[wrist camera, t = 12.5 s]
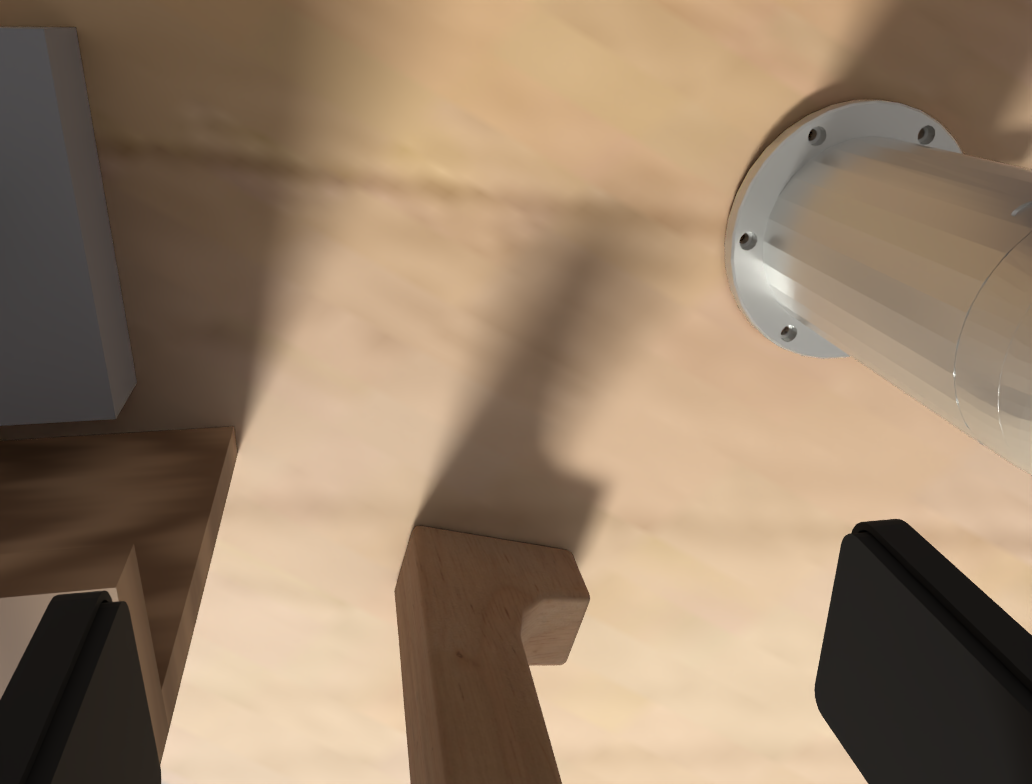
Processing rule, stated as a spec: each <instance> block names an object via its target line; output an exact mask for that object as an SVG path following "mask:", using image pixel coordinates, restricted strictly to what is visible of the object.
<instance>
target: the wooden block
mask: <svg viewBox="0 0 1032 784" xmlns="http://www.w3.org/2000/svg"><path fill="white" fill-rule="evenodd" d="M395 601H396V612H397V624H398V635H399V646H400V659H401V672H402V684H403V697H404V709H405V721H406V733H407V745H408V757H409V768H410V780H411V784H562V782H561V778H560V775H559V771H558V768H557V764H556V761H555V757H554V753H553V750H552V746H551V743H550V739H549V736H548V732H547V729H546V725H545V721H544V718H543V714H542V711H541V707H540V704H539V700H538V697H537V693H536V690H535V686H534V682H533V679H532V675H531V672H530V668H529V665H562V664H564V663H565V662H566V661H567V658H568V656H569V653H570V651H571V648H572V646H573V643H574V640H575V638H576V635H577V633H578V630H579V627H580V625H581V622H582V620H583V617H584V615H585V612H586V609H587V607H588V604H589V601H590V595H589V592H588V590H587V588H586V585H585V583H584V581H583V578H582V576H581V573H580V571H579V569H578V566H577V564H576V562H575V559H574V557H573V555H572V553H571V552H569V551H567V550H564V549H558V548H552V547H546V546H540V545H534V544H528V543H522V542H516V541H509V540H503V539H497V538H491V537H485V536H479V535H473V534H467V533H461V532H455V531H449V530H443V529H437V528H431V527H425V526H416V527H415V528H414V530H413V531H412V533H411V537H410V540H409V543H408V547H407V550H406V554H405V557H404V560H403V564H402V567H401V571H400V574H399V577H398V581H397V584H396V588H395Z"/></svg>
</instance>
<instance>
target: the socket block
mask: <svg viewBox="0 0 1032 784" xmlns="http://www.w3.org/2000/svg"><path fill="white" fill-rule="evenodd" d="M136 383H137V380H136V374H135V368H134V363H133V357H132V351H131V345H130V339H129V333H128V328H127V322H126V316H125V310H124V304H123V299H122V293H121V287H120V281H119V275H118V269H117V264H116V258H115V252H114V246H113V240H112V235H111V229H110V223H109V217H108V211H107V205H106V200H105V194H104V188H103V182H102V176H101V171H100V165H99V159H98V153H97V147H96V141H95V136H94V130H93V124H92V118H91V112H90V107H89V101H88V95H87V89H86V83H85V77H84V72H83V66H82V60H81V54H80V48H79V43H78V37H77V31H76V27H0V426H7V425H24V424H41V423H58V422H74V421H91V420H108V419H116V418H117V417H118V415H119V413H120V411H121V410H122V408H123V406H124V404H125V403H126V401H127V399H128V397H129V396H130V394H131V392H132V390H133V389H134V387H135V385H136Z"/></svg>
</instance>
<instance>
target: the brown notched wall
mask: <svg viewBox="0 0 1032 784" xmlns="http://www.w3.org/2000/svg"><path fill="white" fill-rule="evenodd" d="M236 458H237V446H236V438H235V431H234V426H230V427H214V428H198V429H182V430H166V431H150V432H134V433H118V434H102V435H86V436H70V437H53V438H37V439H21V440H5V441H0V699H1V697H2V695H3V693H4V691H5V689H6V687H7V685H8V683H9V681H10V680H11V678H12V676H13V674H14V672H15V670H16V668H17V666H18V664H19V662H20V660H21V658H22V656H23V654H24V652H25V650H26V648H27V646H28V644H29V642H30V640H31V638H32V636H33V634H34V632H35V630H36V628H37V626H38V624H39V622H40V620H41V618H42V616H43V614H44V612H45V610H46V608H47V607H48V605H49V603H50V601H51V600H52V598H53V597H54V596H56V595H60V594H71V593H82V592H93V591H104V590H105V591H107V592H109V594H110V596H111V598H112V601H113V602H117V601H125V602H126V603H127V605H128V607H129V611H130V616H131V621H132V626H133V631H134V636H135V641H136V646H137V651H138V656H139V661H140V666H141V671H142V676H143V681H144V687H145V692H146V697H147V702H148V707H149V712H150V717H151V722H152V727H153V732H154V737H155V742H156V747H157V752H158V757H159V762H160V764H161V760H162V756H163V752H164V748H165V744H166V740H167V736H168V732H169V728H170V724H171V720H172V716H173V712H174V708H175V704H176V700H177V695H178V691H179V687H180V683H181V679H182V675H183V671H184V667H185V663H186V659H187V655H188V651H189V647H190V643H191V639H192V635H193V631H194V627H195V623H196V619H197V615H198V611H199V607H200V603H201V599H202V595H203V591H204V587H205V583H206V579H207V575H208V571H209V567H210V563H211V559H212V555H213V551H214V547H215V543H216V539H217V535H218V531H219V527H220V523H221V519H222V515H223V511H224V507H225V503H226V499H227V495H228V491H229V487H230V482H231V478H232V474H233V470H234V466H235V462H236Z"/></svg>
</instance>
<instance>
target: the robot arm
mask: <svg viewBox="0 0 1032 784" xmlns="http://www.w3.org/2000/svg"><path fill="white" fill-rule="evenodd" d="M811 130H812V136H811V137H810V138H809V139H808V135H809V133H810V131H811ZM918 133H919V134H918ZM744 233H745V238H744V239H743V240H742V241H740V239H741V236H742V235H743V234H744ZM739 241H740V242H739ZM724 245H725V269H726V273H727V277H728V282H729V286H730V290H731V292H732V294H733V296H734V299H735V301H736V303H737V305H738V307H739V309H740V311H741V312H742V313H743V314H744V316H745V317H746V318H747V320H748V321H749V322H750V324H751V325H752V326H753V327H754V328H756V329H757V330H758V331H759V332H760V333H761V334H763V335H764V336H765V337H766V338H767V339H769V340H770V341H772V342H773V343H775V344H776V345H778V346H779V347H781V348H783V349H785V350H788V351H791V352H793V353H796V354H799V355H801V356H807V357H814V358H821V359H830V358H846V357H850V356H851V357H852V358H854V359H855V360H857V361H858V362H860V363H861V364H863V365H864V366H866V367H867V368H869V369H870V370H872V371H873V372H875V373H876V374H878V375H879V376H881V377H882V378H883V379H885V380H886V381H888V382H889V383H891V384H892V385H894V386H895V387H897V388H898V389H900V390H901V391H903V392H904V393H906V394H907V395H909V396H910V397H912V398H913V399H914V400H916V401H917V402H919V403H920V404H922V405H923V406H925V407H926V408H928V409H929V410H931V411H932V412H934V413H935V414H937V415H938V416H940V417H941V418H943V419H944V420H945V421H947V422H948V423H950V424H951V425H953V426H954V427H956V428H957V429H959V430H960V431H962V432H963V433H965V434H966V435H968V436H969V437H971V438H972V439H974V440H975V441H977V442H979V443H980V444H982V445H983V446H985V447H986V448H988V449H989V450H991V451H992V452H994V453H995V454H997V455H998V456H1000V457H1001V458H1003V459H1004V460H1006V461H1007V462H1009V463H1010V464H1012V465H1014V466H1015V467H1017V468H1019V469H1020V470H1022V471H1024V472H1026V473H1028V474H1030V475H1031V476H1032V169H1028V168H1023V167H1019V166H1014V165H1010V164H1005V163H1001V162H996V161H992V160H988V159H983V158H979V157H974V156H970V155H965V154H963V153H962V151H961V149H960V147H959V145H958V144H957V142H956V140H955V139H954V137H953V136H952V135H951V134H950V133H949V132H948V131H947V130H946V129H945V128H944V127H943V125H942V124H941V123H940V122H938V121H937V120H935V119H934V118H932V117H931V116H929V115H928V114H926V113H925V112H923V111H921V110H919V109H916V108H913V107H910V106H907V105H904V104H902V103H897V102H891V101H885V100H852V101H847V102H843V103H838V104H833V105H830V106H828V107H825V108H823V109H821V110H818V111H816V112H814V113H811V114H809V115H807V116H806V117H804V118H803V119H801V120H800V121H798V122H797V123H795V124H794V125H792V126H791V127H789V128H787V129H786V130H785V131H784V132H783V133H782V134H781V135H779V136H778V137H777V138H776V139H775V140H774V141H773V142H772V143H771V144H770V145H769V146H768V147H767V148H766V149H765V150H764V151H763V153H762V154H761V155H760V157H759V158H758V159H757V160H756V162H755V163H754V164H753V166H752V167H751V168H750V170H749V171H748V173H747V175H746V177H745V179H744V181H743V183H742V184H741V186H740V188H739V190H738V192H737V194H736V197H735V200H734V203H733V206H732V209H731V212H730V215H729V218H728V223H727V230H726V236H725V243H724ZM783 329H784V330H783ZM782 330H783V331H782ZM815 698H816V703H817V706H818V709H819V711H820V713H821V715H822V716H823V718H824V719H825V721H826V722H827V724H828V725H829V727H830V728H831V729H832V731H833V732H834V734H835V735H836V737H837V738H838V740H839V741H840V743H841V744H842V746H843V747H844V749H845V750H846V752H847V753H848V754H849V756H850V757H851V759H852V760H853V762H854V763H855V765H856V766H857V768H858V769H859V771H860V772H861V774H862V775H863V777H864V778H865V779H866V781H867V782H868V784H1032V635H1031V634H1029V633H1028V632H1027V631H1026V630H1025V629H1024V628H1023V627H1022V626H1021V625H1020V624H1018V623H1017V622H1016V621H1015V620H1014V619H1013V618H1012V617H1011V616H1010V615H1008V614H1007V613H1006V612H1005V611H1004V610H1003V609H1002V608H1001V607H1000V606H998V605H997V604H996V603H995V602H994V601H993V600H992V599H991V598H990V597H988V596H987V595H986V594H985V593H984V592H983V591H982V590H981V589H980V588H979V587H977V586H976V585H975V584H974V583H973V582H972V581H971V580H970V579H969V578H967V577H966V576H965V575H964V574H963V573H962V572H961V571H960V570H959V569H957V568H956V567H955V566H954V565H953V564H952V563H951V562H950V561H949V560H948V559H946V558H945V557H944V556H943V555H942V554H941V553H940V552H939V551H938V550H936V549H935V548H934V547H933V546H932V545H931V544H930V543H929V542H928V541H926V540H925V539H924V538H923V537H922V536H921V535H920V534H919V533H918V532H917V531H915V530H914V529H913V528H912V527H911V526H910V525H909V524H908V523H906V522H905V521H903V520H900V519H890V520H879V521H868V522H860V523H858V524H856V526H855V527H854V528H853V530H852V533H851V534H848V535H846V536H845V537H844V538H843V540H842V543H841V548H840V553H839V559H838V564H837V570H836V575H835V580H834V586H833V591H832V596H831V602H830V607H829V612H828V618H827V623H826V628H825V634H824V639H823V644H822V650H821V655H820V660H819V666H818V671H817V676H816V682H815ZM0 784H161V769H160V762H159V757H158V752H157V747H156V742H155V737H154V732H153V727H152V722H151V717H150V712H149V707H148V702H147V697H146V692H145V687H144V681H143V676H142V671H141V666H140V661H139V656H138V651H137V646H136V641H135V636H134V631H133V626H132V621H131V616H130V611H129V607H128V605H127V603H126V602H125V601H117V602H113V601H112V598H111V596H110V594H109V592H107V591H105V590H104V591H93V592H82V593H71V594H60V595H56V596H54V597H53V598H52V600H51V601H50V603H49V605H48V607H47V608H46V610H45V612H44V614H43V616H42V618H41V620H40V622H39V624H38V626H37V628H36V630H35V632H34V634H33V636H32V638H31V640H30V642H29V644H28V646H27V648H26V650H25V652H24V654H23V656H22V658H21V660H20V662H19V664H18V666H17V668H16V670H15V672H14V674H13V676H12V678H11V680H10V681H9V683H8V685H7V687H6V689H5V691H4V693H3V695H2V697H1V699H0Z"/></svg>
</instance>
